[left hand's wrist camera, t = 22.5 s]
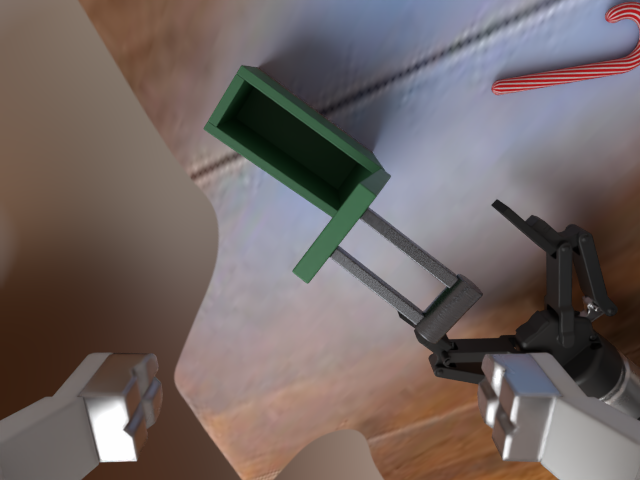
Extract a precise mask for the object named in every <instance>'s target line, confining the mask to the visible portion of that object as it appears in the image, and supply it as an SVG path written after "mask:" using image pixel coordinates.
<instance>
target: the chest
mask: <svg viewBox="0 0 640 480" xmlns="http://www.w3.org/2000/svg"><path fill="white" fill-rule="evenodd" d="M204 130H205V131H207V132H208V133H210V134H211V135H213V136H214V137H216V138H217V139H219V140H220V141H221V142H223V143H224V144H226V145H227V146H229V147H230V148H232V149H233V150H235V151H236V152H238V153H239V154H240V155H242V156H243V157H245V158H246V159H248V160H249V161H251V162H252V163H254V164H255V165H257V166H258V167H259V168H261V169H262V170H264V171H265V172H267V173H268V174H270V175H271V176H273V177H274V178H276V179H277V180H278V181H280V182H281V183H283V184H284V185H286V186H287V187H289V188H290V189H292V190H293V191H295V192H296V193H297V194H299V195H300V196H302V197H303V198H305V199H306V200H308V201H309V202H311V203H312V204H314V205H315V206H316V207H318V208H319V209H321V210H322V211H324V212H325V213H327V214H328V215H330V216H331V217H334V215H335V214H336V213H337V211H338V210H339V209H340V207H341V206H342V205H343V203H344V202H345V201H346V199H347V198H348V197H349V195H350V194H351V193H352V191H353V190H354V189H355V188H356V186H357V185H358V184H359V183H360V182H362V181H363V180H365V179H366V178H368V177H369V176H371V175H372V174H374V173H375V172H377V171H378V170H380V169H383V170H384V168H383V167H382V166H381V164H380V163H379V161H378V160H377V159H376V157H375V156H374V154H373V152H371V151H370V150H369V149H367V148H366V147H365V146H363V145H362V144H361V143H359V142H358V141H356V140H355V139H354V138H352V137H351V136H350V135H348V134H347V133H346V132H344V131H343V130H342V129H340V128H339V127H338V126H336V125H335V124H334V123H332V122H331V121H330V120H328V119H327V118H325V117H324V116H323V115H321V114H320V113H319V112H317V111H316V110H315V109H313V108H312V107H311V106H309V105H308V104H307V103H305V102H304V101H303V100H301V99H300V98H298V97H297V96H296V95H294V94H293V93H292V92H290V91H289V90H288V89H286V88H285V87H284V86H282V85H281V84H280V83H278V82H277V81H276V80H274V79H273V78H272V77H270V76H269V75H267V74H266V73H265V72H263V71H262V70H261V69H259V68H258V67H250V66H243V65H242V66H241V67H240V69H239V70H238V72H237V74H236V75H235V77H234V79H233V80H232V82H231V84H230V85H229V87H228V89H227V90H226V92H225V94H224V95H223V97H222V99H221V100H220V102H219V104H218V105H217V107H216V109H215V110H214V112H213V114H212V115H211V117H210V119H209V120H208V122H207V124H206V125H205V127H204ZM384 171H385V170H384Z"/></svg>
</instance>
